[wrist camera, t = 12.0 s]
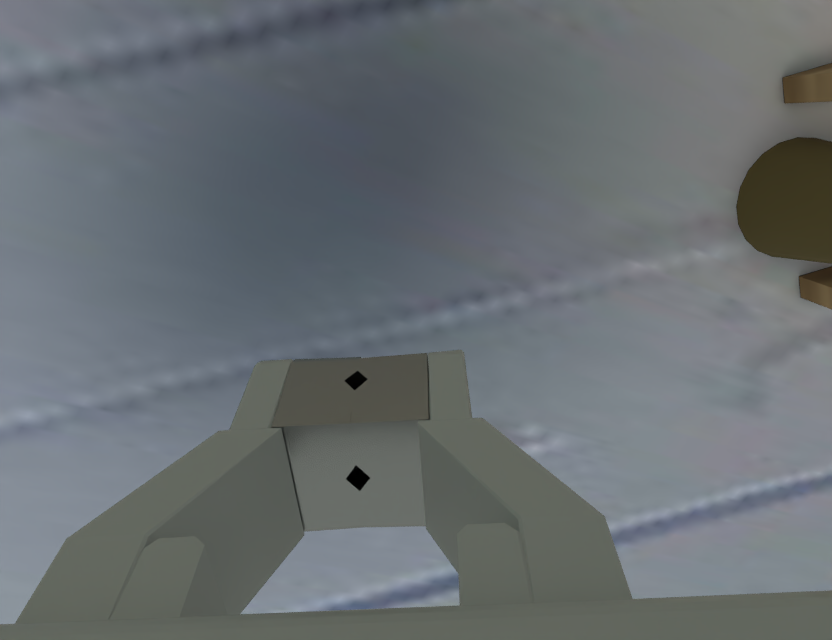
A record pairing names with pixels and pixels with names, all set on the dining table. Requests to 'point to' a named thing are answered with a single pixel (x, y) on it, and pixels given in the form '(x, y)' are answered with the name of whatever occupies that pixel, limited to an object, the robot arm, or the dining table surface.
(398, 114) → the dining table surface
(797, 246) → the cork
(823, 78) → the catch
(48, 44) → the dining table surface
